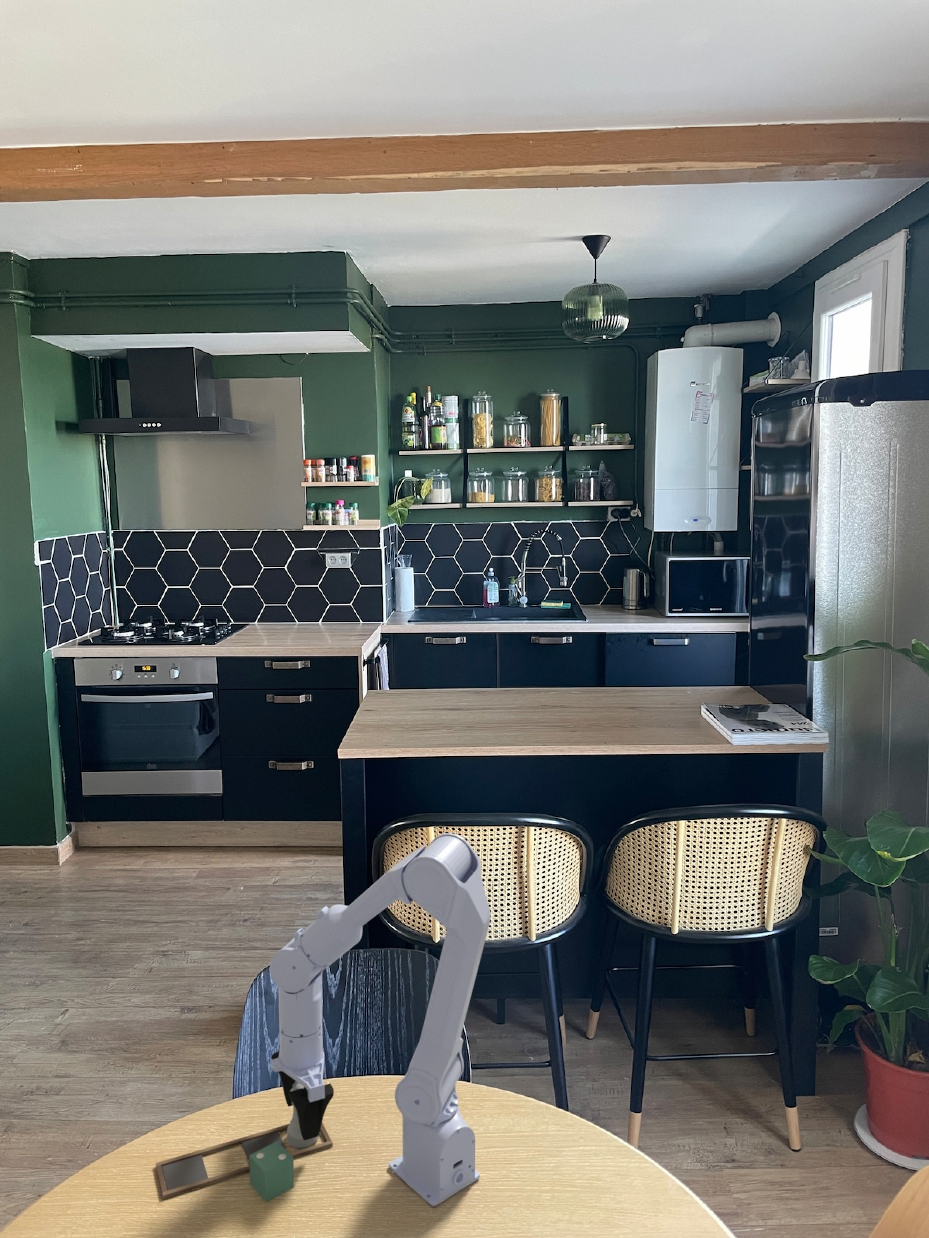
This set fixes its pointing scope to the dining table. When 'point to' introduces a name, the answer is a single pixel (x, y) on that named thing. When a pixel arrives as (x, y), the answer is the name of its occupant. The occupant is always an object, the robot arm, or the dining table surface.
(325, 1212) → the dining table surface
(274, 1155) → the green die
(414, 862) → the robot arm
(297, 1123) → the rook chess piece
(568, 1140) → the dining table surface
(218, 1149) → the track board
